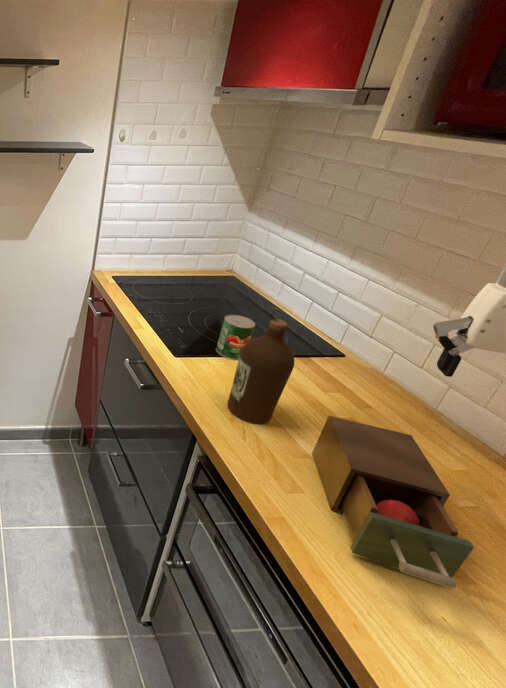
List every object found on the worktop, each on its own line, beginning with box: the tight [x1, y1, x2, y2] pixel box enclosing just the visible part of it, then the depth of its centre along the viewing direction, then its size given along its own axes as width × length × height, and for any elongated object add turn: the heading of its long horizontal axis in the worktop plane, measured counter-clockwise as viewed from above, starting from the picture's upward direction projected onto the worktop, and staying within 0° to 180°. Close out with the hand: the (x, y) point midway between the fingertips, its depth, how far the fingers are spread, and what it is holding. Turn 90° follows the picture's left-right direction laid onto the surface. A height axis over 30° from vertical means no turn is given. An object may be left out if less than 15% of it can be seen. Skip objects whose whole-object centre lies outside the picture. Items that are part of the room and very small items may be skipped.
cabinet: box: [311, 415, 451, 514], centre depth 86 cm, size 16×14×11 cm
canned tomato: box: [215, 314, 256, 361], centre depth 131 cm, size 8×8×11 cm
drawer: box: [340, 473, 475, 590], centre depth 75 cm, size 20×12×9 cm, turn 156°
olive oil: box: [227, 318, 295, 425], centre depth 104 cm, size 11×11×25 cm
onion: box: [376, 499, 419, 526], centre depth 77 cm, size 6×6×8 cm
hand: (482, 379), depth 73 cm, fingers open, 9 cm apart
